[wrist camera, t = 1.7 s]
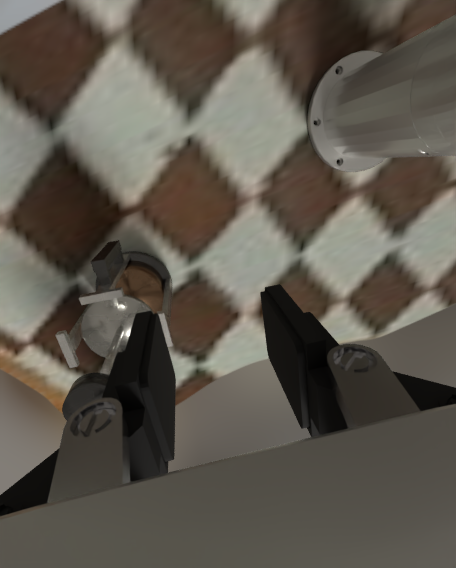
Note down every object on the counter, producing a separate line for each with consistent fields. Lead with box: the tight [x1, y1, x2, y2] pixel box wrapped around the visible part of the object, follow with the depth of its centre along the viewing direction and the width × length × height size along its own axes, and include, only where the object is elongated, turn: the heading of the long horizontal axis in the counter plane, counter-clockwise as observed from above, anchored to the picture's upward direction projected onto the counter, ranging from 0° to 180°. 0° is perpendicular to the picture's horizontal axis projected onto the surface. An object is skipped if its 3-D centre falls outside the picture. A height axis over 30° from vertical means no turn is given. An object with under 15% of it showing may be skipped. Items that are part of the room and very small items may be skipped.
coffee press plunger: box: [62, 294, 155, 421], centre depth 25 cm, size 7×7×11 cm
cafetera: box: [56, 241, 173, 368], centre depth 34 cm, size 10×12×14 cm
